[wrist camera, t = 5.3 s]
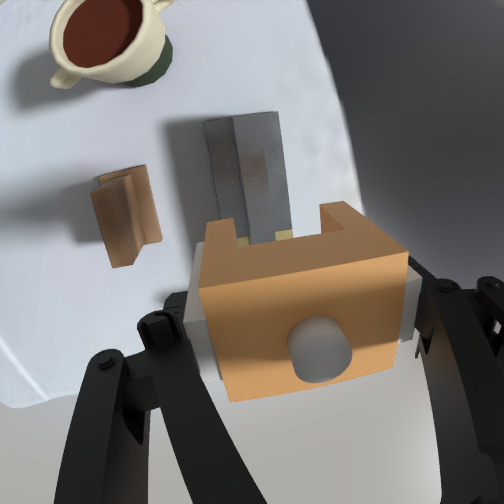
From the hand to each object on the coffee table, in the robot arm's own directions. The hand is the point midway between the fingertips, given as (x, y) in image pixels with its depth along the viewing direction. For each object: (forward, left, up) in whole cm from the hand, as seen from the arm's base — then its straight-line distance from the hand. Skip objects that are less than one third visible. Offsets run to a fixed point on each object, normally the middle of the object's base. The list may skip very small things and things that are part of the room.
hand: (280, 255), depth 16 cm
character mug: (-8, +15, -17) cm, 25 cm away
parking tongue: (-12, 0, -17) cm, 21 cm away
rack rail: (0, -3, -17) cm, 17 cm away
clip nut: (0, 0, +1) cm, 1 cm away
